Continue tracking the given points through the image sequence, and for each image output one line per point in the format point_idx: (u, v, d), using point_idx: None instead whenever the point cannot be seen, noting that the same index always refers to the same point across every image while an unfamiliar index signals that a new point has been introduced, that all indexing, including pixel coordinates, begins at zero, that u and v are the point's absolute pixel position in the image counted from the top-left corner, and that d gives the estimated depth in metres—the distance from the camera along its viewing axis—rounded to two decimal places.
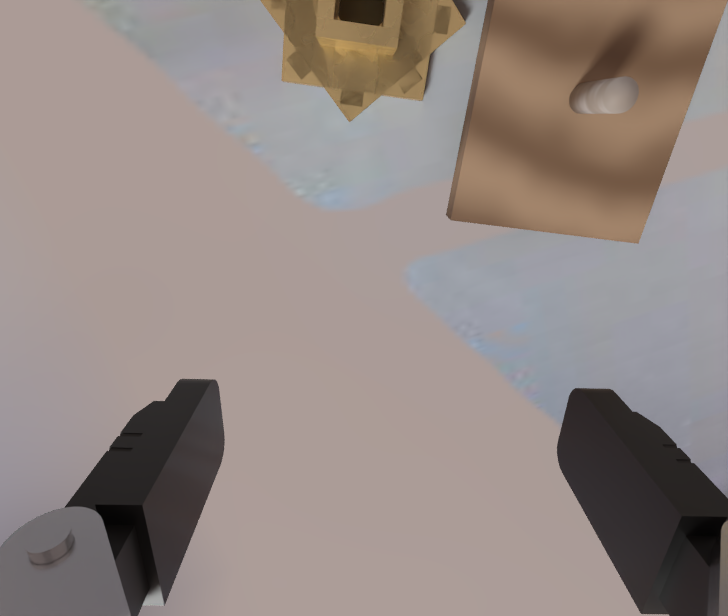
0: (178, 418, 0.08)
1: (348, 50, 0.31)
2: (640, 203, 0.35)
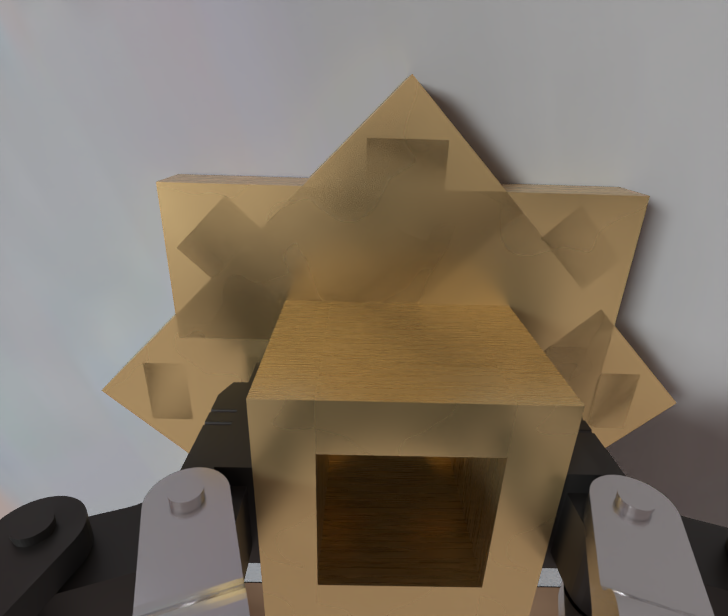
0: None
1: None
2: None
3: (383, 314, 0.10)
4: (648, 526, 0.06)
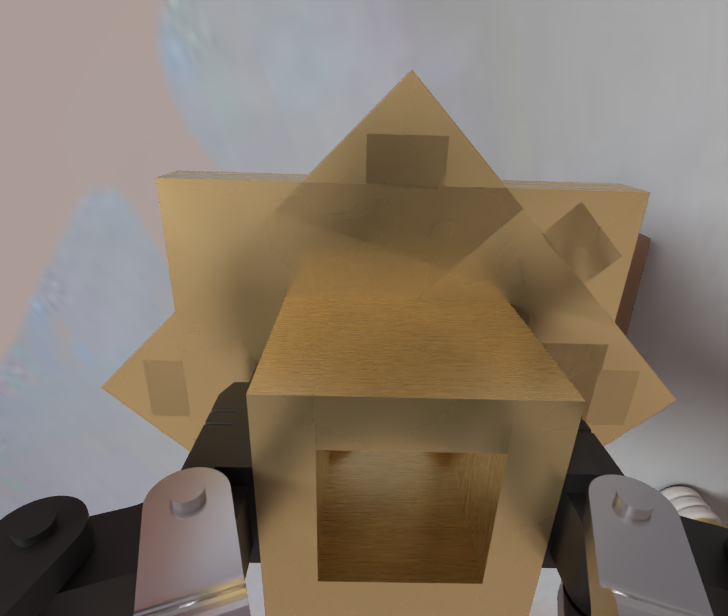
0: None
1: None
2: None
3: (383, 311, 0.10)
4: (647, 526, 0.06)
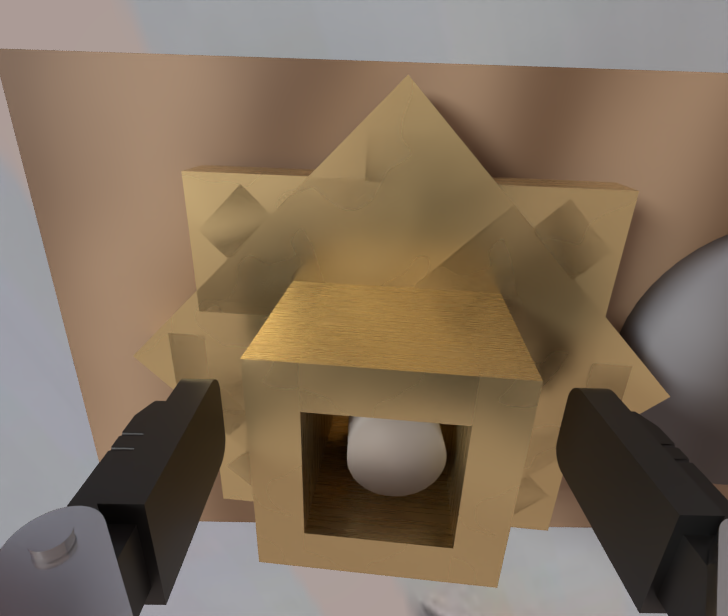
0: (179, 417, 0.08)
1: None
2: None
3: (379, 296, 0.10)
4: None
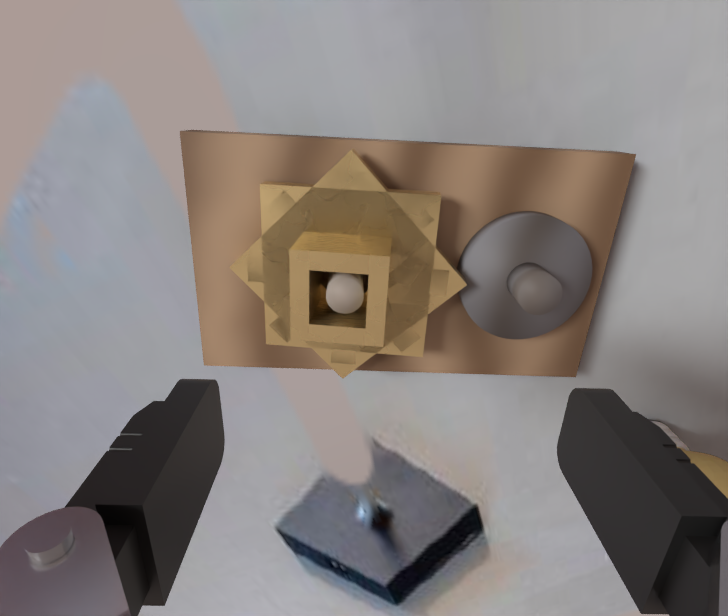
0: (178, 418, 0.08)
1: None
2: (247, 355, 0.31)
3: (340, 236, 0.25)
4: None
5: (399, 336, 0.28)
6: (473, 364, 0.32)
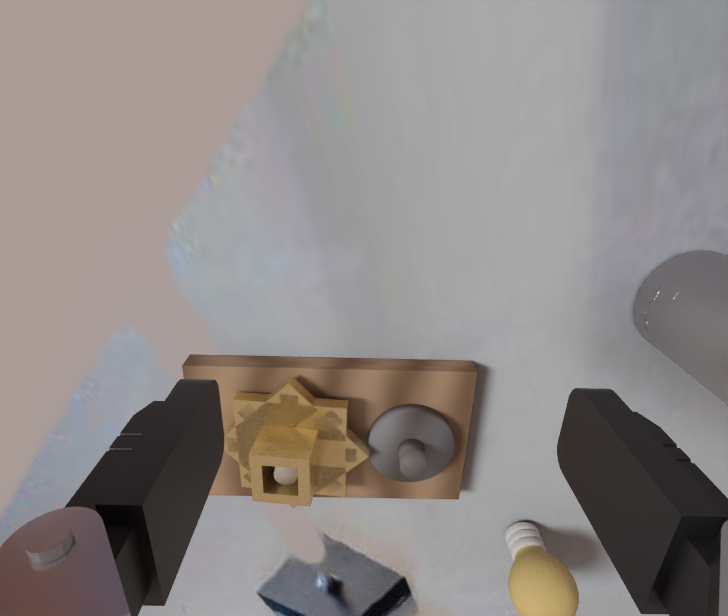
0: (178, 418, 0.08)
1: None
2: (230, 488, 0.46)
3: (284, 431, 0.40)
4: None
5: (328, 484, 0.42)
6: (386, 492, 0.46)
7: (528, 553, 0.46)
